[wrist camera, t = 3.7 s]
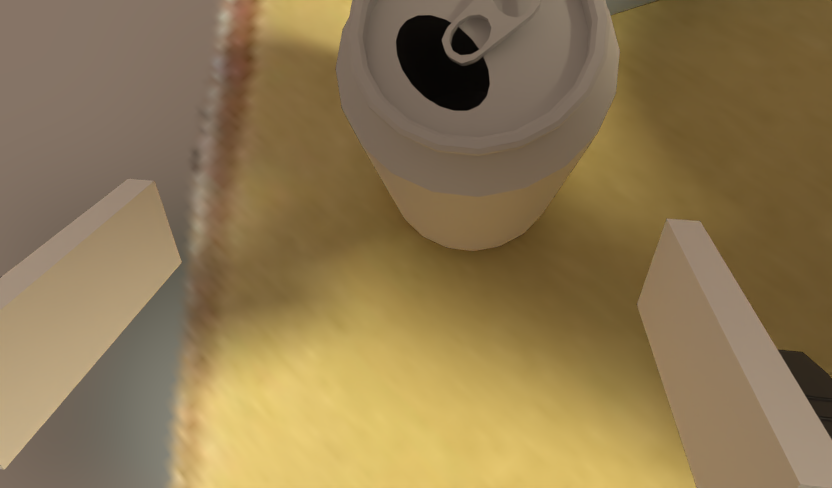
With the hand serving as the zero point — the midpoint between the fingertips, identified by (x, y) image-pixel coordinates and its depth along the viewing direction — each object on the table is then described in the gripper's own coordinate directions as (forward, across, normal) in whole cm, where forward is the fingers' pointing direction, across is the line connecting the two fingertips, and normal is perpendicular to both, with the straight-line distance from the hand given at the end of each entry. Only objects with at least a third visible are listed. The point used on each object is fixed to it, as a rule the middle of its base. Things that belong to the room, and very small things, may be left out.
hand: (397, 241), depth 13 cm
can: (+11, +2, -3) cm, 11 cm away
